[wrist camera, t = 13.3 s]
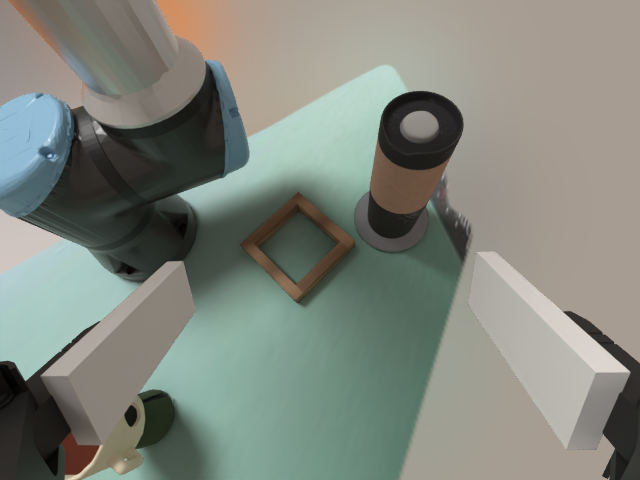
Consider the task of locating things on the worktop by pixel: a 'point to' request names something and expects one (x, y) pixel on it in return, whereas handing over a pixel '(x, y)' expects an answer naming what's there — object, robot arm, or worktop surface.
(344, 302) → the worktop surface
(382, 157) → the travel mug
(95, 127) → the robot arm
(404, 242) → the slate coaster
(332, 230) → the walnut frame
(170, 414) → the character mug
